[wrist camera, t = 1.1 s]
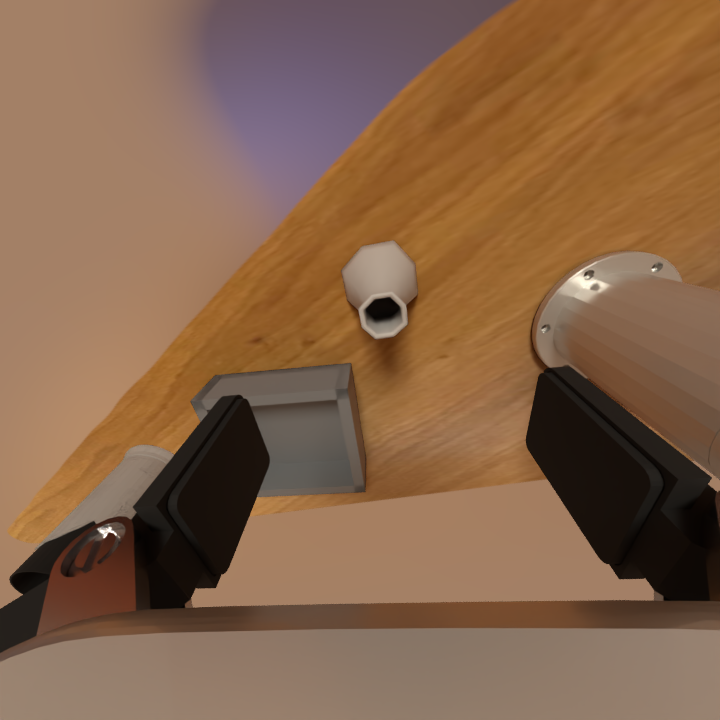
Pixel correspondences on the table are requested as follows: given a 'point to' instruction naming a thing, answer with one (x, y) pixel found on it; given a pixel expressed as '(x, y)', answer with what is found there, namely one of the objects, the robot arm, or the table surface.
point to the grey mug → (95, 511)
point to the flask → (381, 287)
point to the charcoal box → (300, 426)
